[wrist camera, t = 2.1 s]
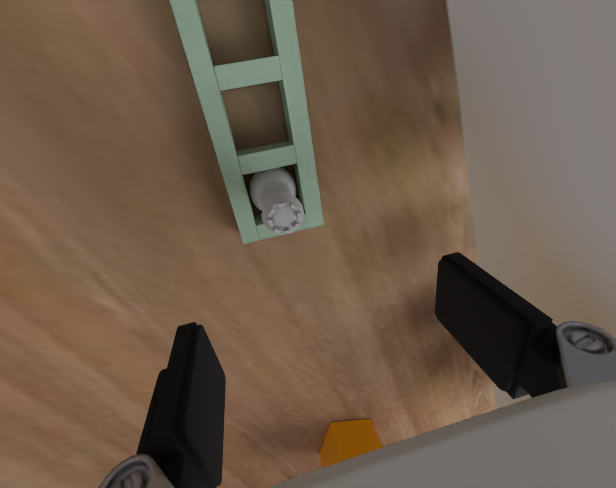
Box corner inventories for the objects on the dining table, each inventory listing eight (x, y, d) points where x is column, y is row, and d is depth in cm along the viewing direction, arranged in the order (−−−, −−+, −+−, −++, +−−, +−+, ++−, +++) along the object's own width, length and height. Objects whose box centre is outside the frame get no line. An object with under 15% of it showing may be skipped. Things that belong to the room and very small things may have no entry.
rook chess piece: (303, 187, 29) (326, 217, 22) (272, 218, 30) (284, 256, 23) (271, 154, 27) (285, 176, 20) (238, 188, 28) (241, 221, 21)
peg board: (242, 233, 30) (243, 244, 28) (161, -38, 20) (152, -54, 17) (317, 215, 31) (323, 224, 29) (277, -52, 21) (282, -68, 18)
